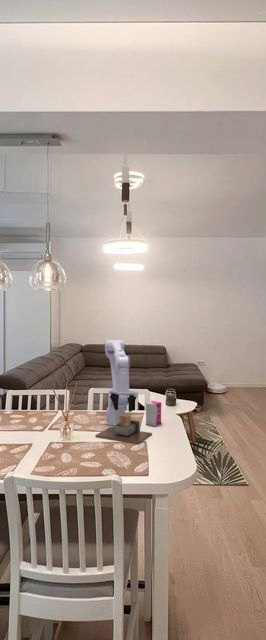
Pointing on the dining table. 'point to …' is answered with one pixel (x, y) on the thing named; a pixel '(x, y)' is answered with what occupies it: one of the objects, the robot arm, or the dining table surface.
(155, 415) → the supplement box
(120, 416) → the brown rectangular block
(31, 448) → the dining table surface
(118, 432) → the bracket
